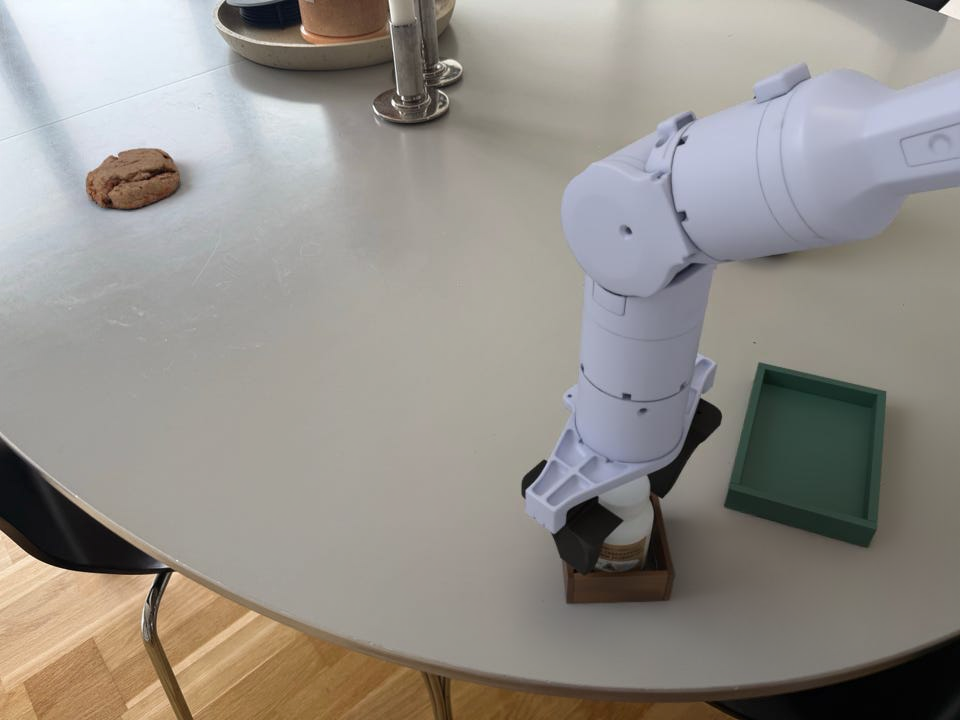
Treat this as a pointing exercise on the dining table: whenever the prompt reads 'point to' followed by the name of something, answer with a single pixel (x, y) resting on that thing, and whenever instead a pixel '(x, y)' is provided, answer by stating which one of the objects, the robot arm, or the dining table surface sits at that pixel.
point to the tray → (811, 454)
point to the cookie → (133, 179)
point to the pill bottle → (627, 527)
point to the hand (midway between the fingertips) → (615, 523)
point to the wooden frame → (627, 575)
